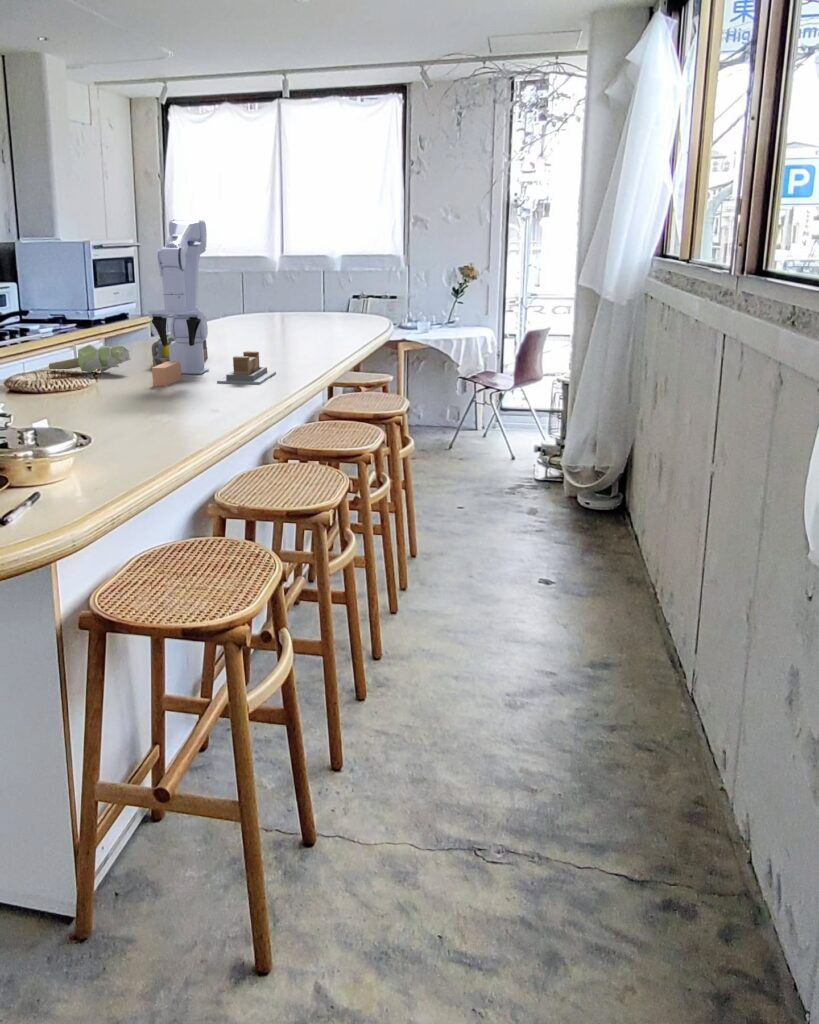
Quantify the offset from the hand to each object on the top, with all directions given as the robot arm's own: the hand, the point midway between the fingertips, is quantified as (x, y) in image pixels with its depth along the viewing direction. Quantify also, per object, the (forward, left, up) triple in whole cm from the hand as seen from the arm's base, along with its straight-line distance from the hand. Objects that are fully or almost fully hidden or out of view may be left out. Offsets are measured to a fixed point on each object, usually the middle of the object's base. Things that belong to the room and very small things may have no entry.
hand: (178, 345), depth 229 cm
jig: (+17, +8, -10) cm, 21 cm away
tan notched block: (+17, +8, -9) cm, 21 cm away
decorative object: (-31, +10, -10) cm, 34 cm away
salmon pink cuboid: (-3, -1, -10) cm, 11 cm away
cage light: (-12, +34, -10) cm, 37 cm away
